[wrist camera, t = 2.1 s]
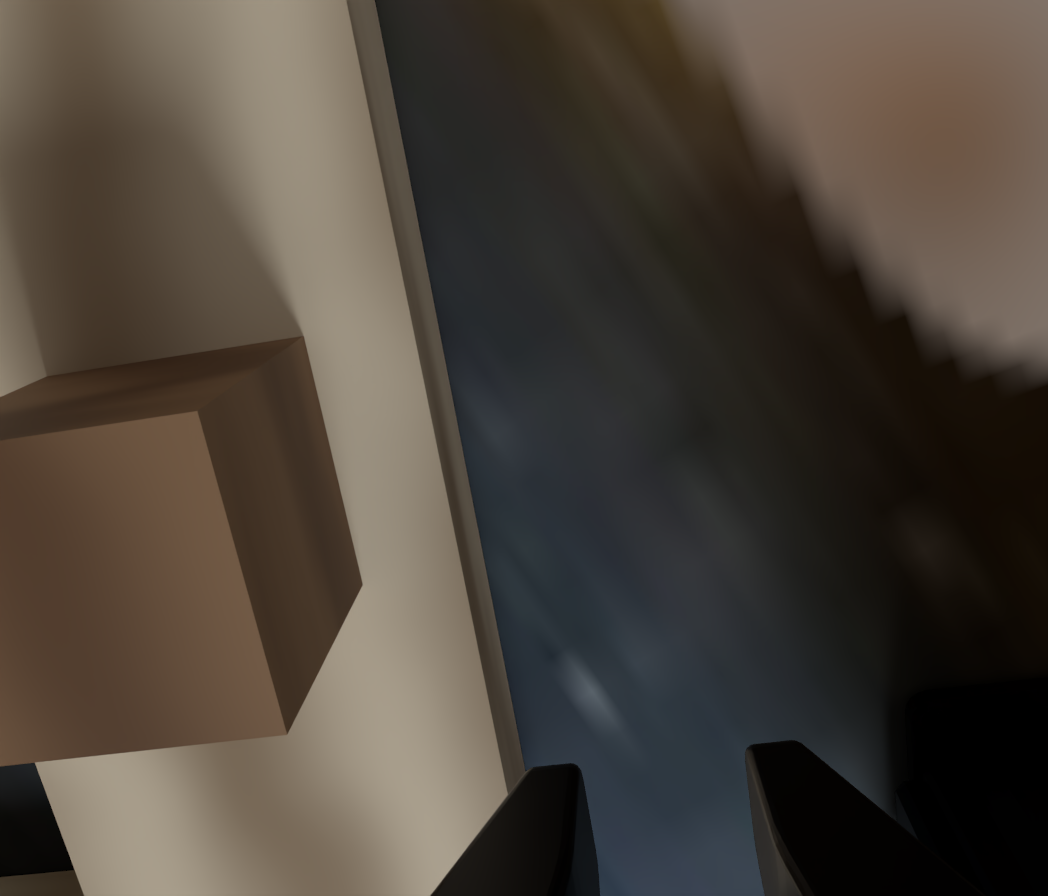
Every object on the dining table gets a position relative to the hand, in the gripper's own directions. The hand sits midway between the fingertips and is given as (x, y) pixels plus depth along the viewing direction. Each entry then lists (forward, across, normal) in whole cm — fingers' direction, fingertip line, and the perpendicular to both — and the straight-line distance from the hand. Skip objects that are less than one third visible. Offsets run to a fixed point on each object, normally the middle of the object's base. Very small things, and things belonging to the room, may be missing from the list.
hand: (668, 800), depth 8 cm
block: (+10, +8, 0) cm, 13 cm away
